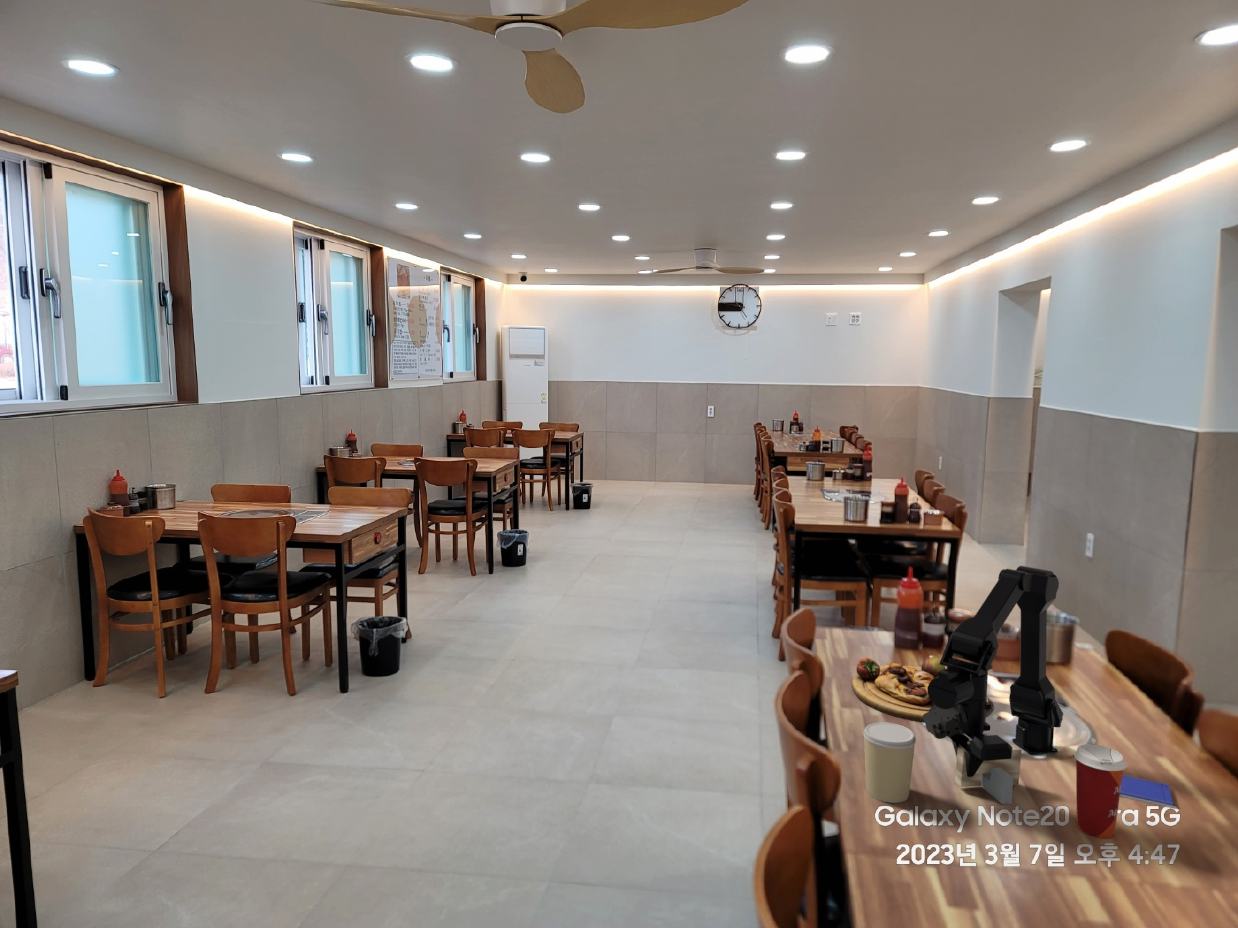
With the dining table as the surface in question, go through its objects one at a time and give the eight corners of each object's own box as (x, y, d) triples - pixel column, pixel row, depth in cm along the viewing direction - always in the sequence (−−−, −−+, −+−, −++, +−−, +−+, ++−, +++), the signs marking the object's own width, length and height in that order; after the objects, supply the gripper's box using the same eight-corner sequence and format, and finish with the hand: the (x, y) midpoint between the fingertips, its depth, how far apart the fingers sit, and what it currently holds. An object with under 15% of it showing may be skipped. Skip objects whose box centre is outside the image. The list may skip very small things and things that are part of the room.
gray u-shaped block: (974, 771, 159) (975, 747, 158) (1011, 802, 147) (1013, 777, 146) (964, 772, 158) (965, 748, 158) (1001, 803, 147) (1003, 777, 146)
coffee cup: (922, 792, 151) (924, 731, 150) (899, 810, 144) (901, 747, 143) (876, 774, 157) (878, 717, 156) (852, 791, 151) (854, 731, 150)
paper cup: (1129, 844, 134) (1134, 765, 132) (1079, 839, 135) (1084, 760, 134) (1110, 819, 141) (1115, 744, 140) (1063, 814, 143) (1067, 740, 141)
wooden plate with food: (826, 695, 198) (827, 664, 197) (890, 663, 220) (891, 634, 219) (952, 740, 175) (954, 704, 174) (1010, 699, 196) (1012, 667, 195)
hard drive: (1094, 786, 151) (1173, 802, 145) (1093, 767, 158) (1168, 783, 152) (1094, 793, 151) (1172, 811, 145) (1092, 775, 158) (1167, 791, 152)
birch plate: (1012, 779, 154) (1015, 744, 154) (1018, 784, 152) (1021, 749, 152) (955, 781, 153) (957, 746, 152) (960, 786, 151) (963, 751, 150)
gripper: (905, 679, 158) (903, 753, 160) (958, 718, 140) (954, 802, 141) (957, 676, 160) (954, 749, 161) (1016, 714, 141) (1012, 797, 143)
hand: (966, 773), depth 152 cm, fingers closed on birch plate, 2 cm apart
